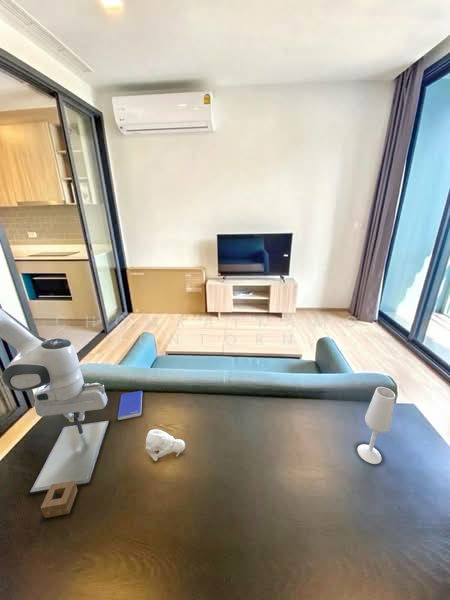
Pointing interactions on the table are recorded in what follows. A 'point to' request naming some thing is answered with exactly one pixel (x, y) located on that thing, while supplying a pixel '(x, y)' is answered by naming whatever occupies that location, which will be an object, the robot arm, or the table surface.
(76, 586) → the table surface
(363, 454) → the champagne flute
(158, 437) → the white animal figurine
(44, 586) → the table surface
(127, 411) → the hard drive
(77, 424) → the stylus
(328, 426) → the table surface
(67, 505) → the stand
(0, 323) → the robot arm
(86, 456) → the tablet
